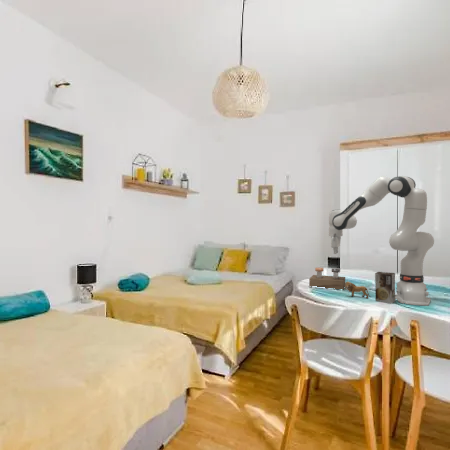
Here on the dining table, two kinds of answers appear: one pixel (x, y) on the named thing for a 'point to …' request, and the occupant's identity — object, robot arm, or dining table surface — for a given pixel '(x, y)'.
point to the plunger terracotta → (319, 272)
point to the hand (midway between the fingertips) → (335, 253)
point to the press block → (327, 282)
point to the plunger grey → (335, 273)
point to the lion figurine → (356, 289)
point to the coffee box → (385, 287)
